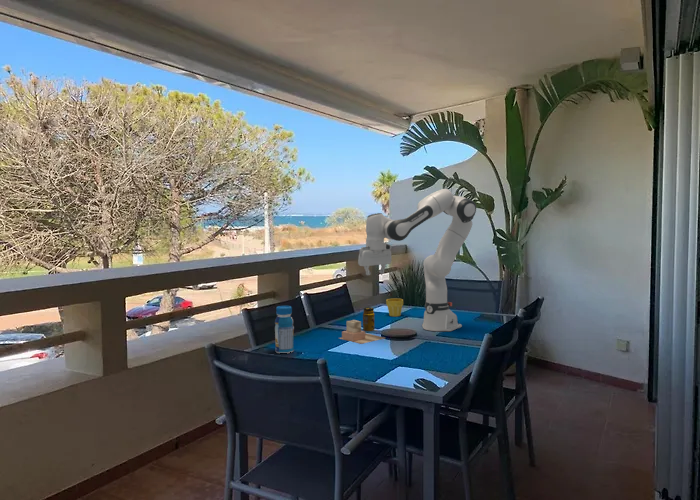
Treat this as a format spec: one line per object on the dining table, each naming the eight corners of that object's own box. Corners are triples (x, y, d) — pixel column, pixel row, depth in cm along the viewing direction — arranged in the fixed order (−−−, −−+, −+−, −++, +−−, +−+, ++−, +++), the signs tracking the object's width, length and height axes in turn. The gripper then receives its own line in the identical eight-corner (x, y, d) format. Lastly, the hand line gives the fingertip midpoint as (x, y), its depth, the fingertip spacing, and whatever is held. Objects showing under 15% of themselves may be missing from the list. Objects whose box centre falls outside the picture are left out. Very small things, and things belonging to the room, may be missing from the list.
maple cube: (354, 329, 242) (354, 319, 241) (361, 331, 238) (361, 321, 238) (346, 331, 238) (346, 321, 238) (353, 333, 235) (353, 322, 234)
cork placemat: (363, 333, 251) (363, 332, 251) (386, 338, 239) (386, 337, 239) (338, 338, 240) (338, 338, 240) (361, 344, 228) (361, 344, 228)
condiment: (377, 331, 256) (377, 308, 256) (364, 333, 252) (364, 310, 251) (369, 328, 263) (369, 306, 262) (356, 330, 258) (356, 308, 257)
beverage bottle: (285, 355, 211) (285, 309, 210) (271, 352, 216) (270, 307, 215) (298, 350, 219) (297, 306, 217) (283, 348, 223) (282, 304, 222)
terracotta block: (354, 336, 244) (354, 329, 244) (365, 338, 238) (365, 331, 238) (342, 338, 239) (341, 331, 238) (353, 341, 233) (353, 334, 233)
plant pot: (384, 316, 295) (384, 300, 294) (388, 313, 304) (388, 298, 304) (401, 317, 292) (401, 301, 291) (404, 314, 301) (404, 298, 301)
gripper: (364, 247, 232) (364, 276, 233) (393, 245, 246) (393, 273, 247) (355, 246, 237) (355, 275, 238) (384, 245, 251) (384, 272, 252)
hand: (375, 274), depth 242 cm, fingers open, 8 cm apart
